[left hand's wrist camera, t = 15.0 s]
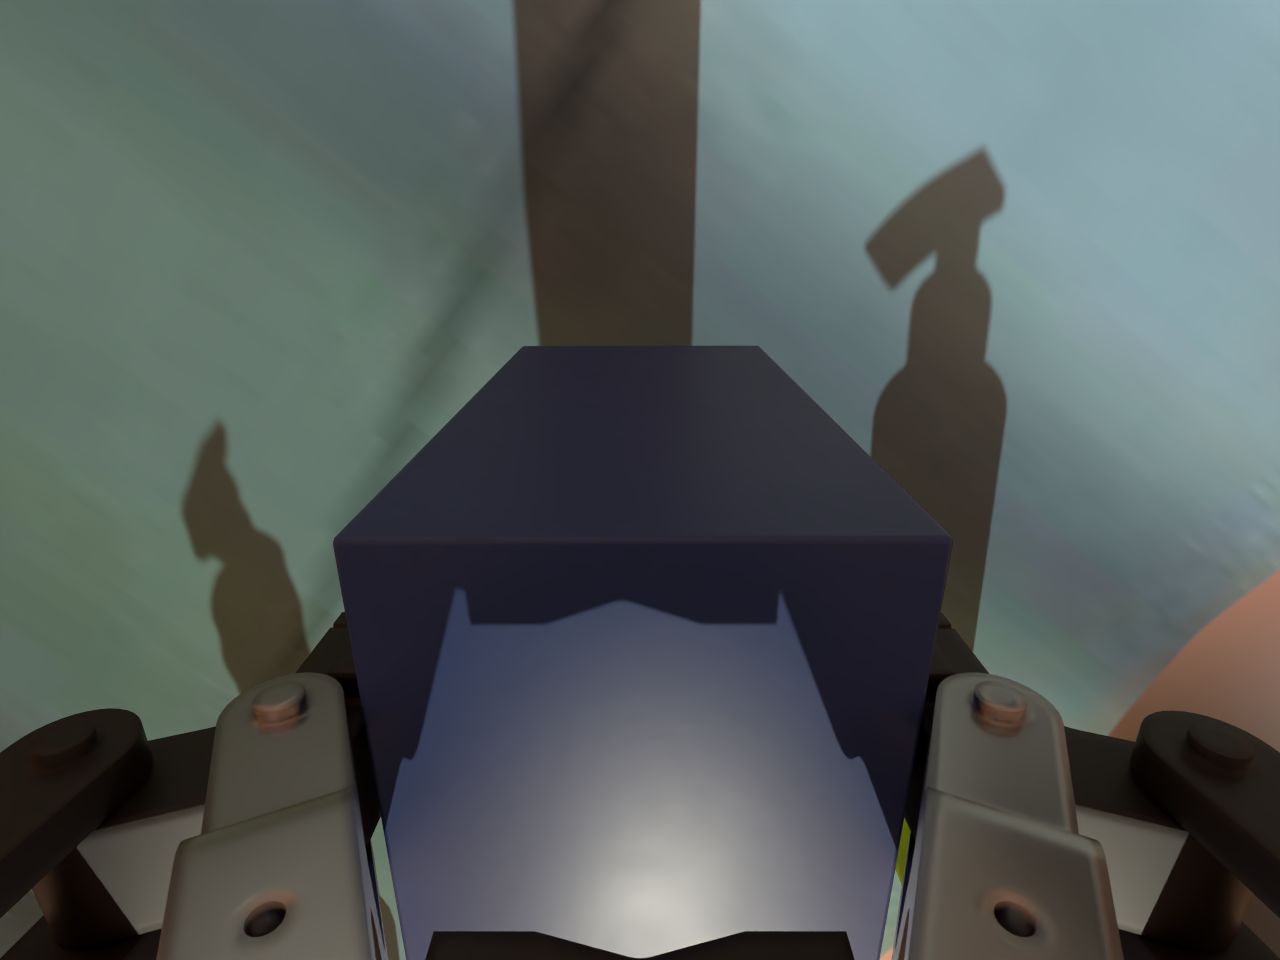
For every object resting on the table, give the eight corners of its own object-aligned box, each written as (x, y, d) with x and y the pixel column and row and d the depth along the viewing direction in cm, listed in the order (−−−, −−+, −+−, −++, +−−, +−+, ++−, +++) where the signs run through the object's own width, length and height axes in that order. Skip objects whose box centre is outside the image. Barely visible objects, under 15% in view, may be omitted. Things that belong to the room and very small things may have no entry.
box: (521, 345, 17) (329, 539, 7) (759, 345, 17) (957, 538, 7) (565, 1052, 27) (517, 1595, 16) (717, 1051, 27) (769, 1593, 16)
